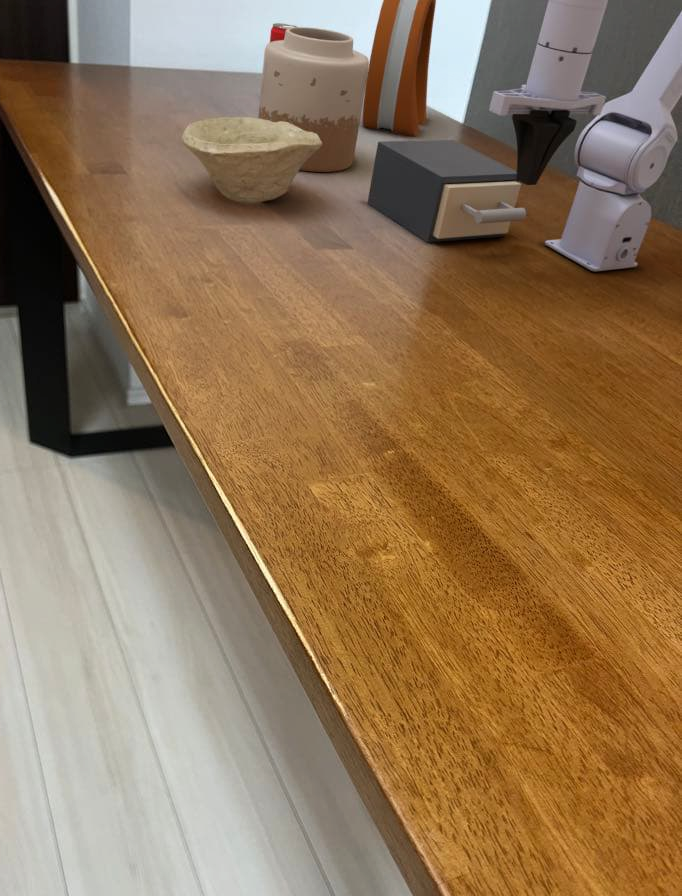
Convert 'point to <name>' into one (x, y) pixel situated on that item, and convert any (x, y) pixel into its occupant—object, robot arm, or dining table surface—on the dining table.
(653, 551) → the dining table surface
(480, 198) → the drawer
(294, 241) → the dining table surface
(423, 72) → the orange striped bag
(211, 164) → the bowl
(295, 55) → the vase
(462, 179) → the cabinet
